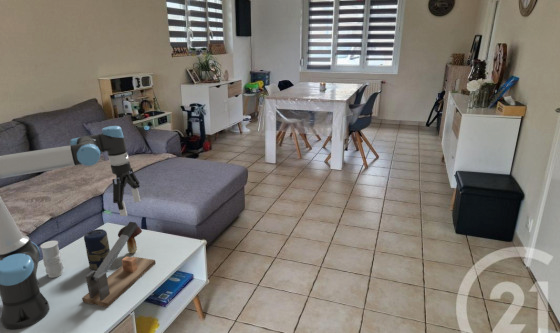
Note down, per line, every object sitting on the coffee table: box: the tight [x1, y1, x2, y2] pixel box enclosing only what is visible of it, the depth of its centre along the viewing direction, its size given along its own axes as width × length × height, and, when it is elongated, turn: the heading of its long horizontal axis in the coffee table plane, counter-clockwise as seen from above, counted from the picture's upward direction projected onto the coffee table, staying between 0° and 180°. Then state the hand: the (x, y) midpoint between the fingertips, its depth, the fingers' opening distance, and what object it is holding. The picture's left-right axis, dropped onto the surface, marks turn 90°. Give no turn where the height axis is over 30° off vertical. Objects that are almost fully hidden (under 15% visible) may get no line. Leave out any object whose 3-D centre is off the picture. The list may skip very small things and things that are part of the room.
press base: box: [81, 256, 156, 308], centre depth 158 cm, size 12×32×12 cm, turn 164°
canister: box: [83, 228, 111, 271], centre depth 169 cm, size 10×10×18 cm
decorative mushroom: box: [117, 225, 143, 254], centre depth 181 cm, size 11×11×15 cm
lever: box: [91, 221, 139, 281], centre depth 155 cm, size 4×29×2 cm, turn 164°
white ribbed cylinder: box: [40, 240, 64, 279], centre depth 164 cm, size 7×7×15 cm
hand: (131, 208), depth 161 cm, fingers open, 13 cm apart
